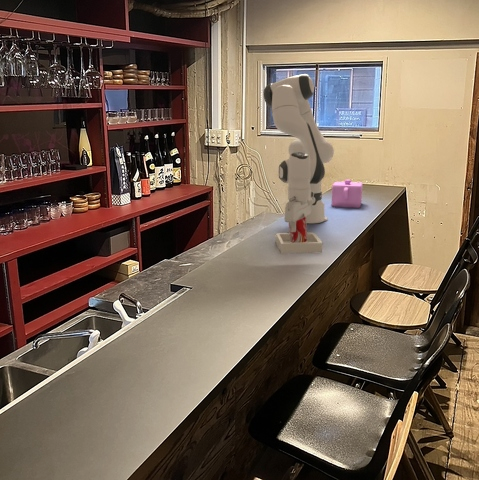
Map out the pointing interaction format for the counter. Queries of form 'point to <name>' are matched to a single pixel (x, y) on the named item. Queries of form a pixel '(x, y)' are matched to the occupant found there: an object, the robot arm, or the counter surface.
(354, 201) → the teapot
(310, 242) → the tray
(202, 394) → the counter surface
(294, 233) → the soda can
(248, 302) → the counter surface
